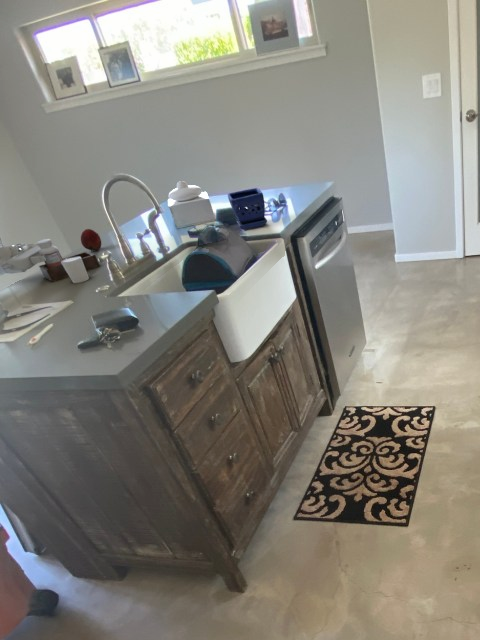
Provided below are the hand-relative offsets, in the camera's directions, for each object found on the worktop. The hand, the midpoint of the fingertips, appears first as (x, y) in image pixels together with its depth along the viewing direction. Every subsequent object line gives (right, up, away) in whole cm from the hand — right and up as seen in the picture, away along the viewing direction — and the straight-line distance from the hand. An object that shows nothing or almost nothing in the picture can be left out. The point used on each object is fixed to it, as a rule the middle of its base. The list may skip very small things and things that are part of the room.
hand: (51, 254), depth 187 cm
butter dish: (+35, +39, +47) cm, 71 cm away
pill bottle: (0, -5, +5) cm, 7 cm away
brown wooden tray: (+4, -3, +7) cm, 9 cm away
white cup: (+12, -11, -2) cm, 17 cm away
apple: (+1, +15, +28) cm, 32 cm away
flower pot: (+67, +25, +27) cm, 76 cm away
